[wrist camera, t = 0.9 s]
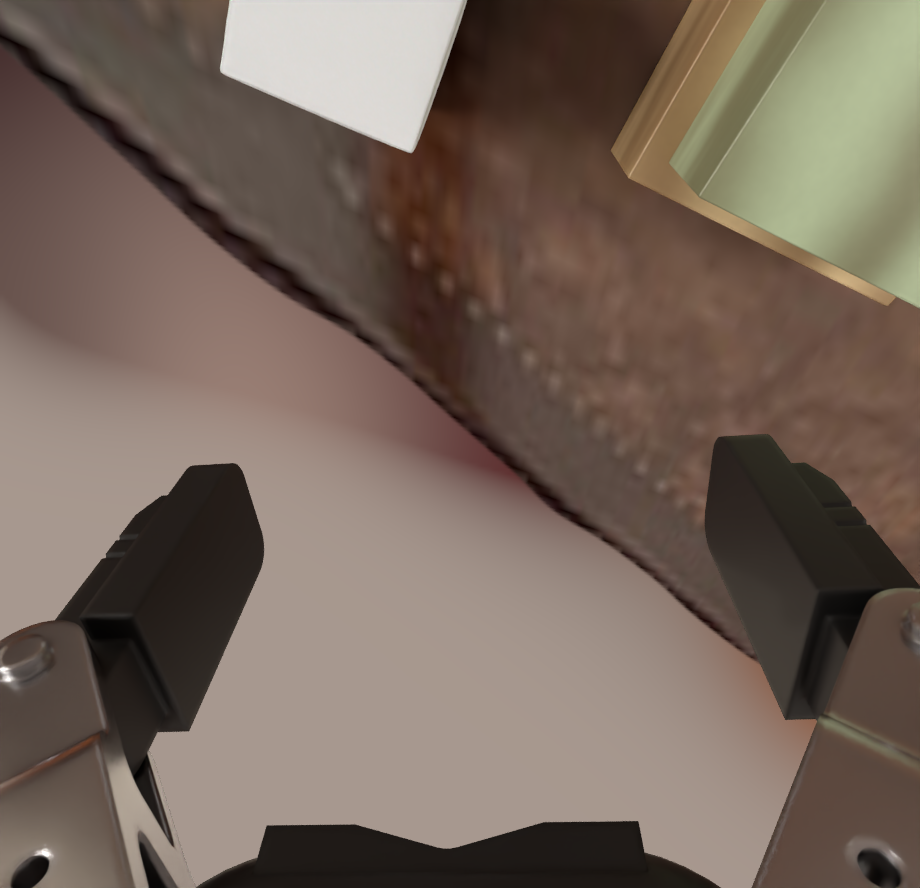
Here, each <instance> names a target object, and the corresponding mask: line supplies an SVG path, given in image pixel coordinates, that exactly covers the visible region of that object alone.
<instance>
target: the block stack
mask: <svg viewBox="0 0 920 888" xmlns="http://www.w3.org/2000/svg"><path fill="white" fill-rule="evenodd" d="M611 152H612V153H613V155H614V156H615V158H616V160H617V161H618V163H619V164H620V166H621V167H622V169H623V170H624V172H625V174H626V175H627V177H628V178H629V179H631V180H633V181H635V182H637V183H639V184H641V185H643V186H645V187H647V188H649V189H651V190H653V191H655V192H657V193H659V194H661V195H663V196H665V197H667V198H669V199H671V200H673V201H675V202H677V203H679V204H681V205H683V206H685V207H687V208H689V209H691V210H693V211H695V212H697V213H699V214H701V215H703V216H705V217H707V218H709V219H711V220H713V221H715V222H717V223H719V224H721V225H724V226H726V227H728V228H730V229H732V230H734V231H736V232H738V233H740V234H742V235H744V236H746V237H748V238H750V239H752V240H754V241H756V242H758V243H760V244H762V245H764V246H766V247H768V248H770V249H772V250H774V251H776V252H778V253H780V254H782V255H784V256H786V257H788V258H790V259H792V260H794V261H796V262H798V263H800V264H802V265H804V266H806V267H808V268H810V269H812V270H814V271H816V272H818V273H820V274H822V275H824V276H826V277H828V278H830V279H832V280H834V281H836V282H838V283H840V284H842V285H844V286H846V287H848V288H850V289H852V290H854V291H856V292H858V293H860V294H862V295H864V296H866V297H868V298H870V299H872V300H874V301H877V302H879V303H881V304H883V305H885V306H888V305H889V304H890V303H891V302H892V301H893V300H894V299H895V298H896V297H898V298H900V299H902V300H904V301H906V302H908V303H910V304H912V305H914V306H916V307H918V308H920V0H692V2H691V3H690V5H689V7H688V9H687V11H686V13H685V15H684V16H683V18H682V20H681V22H680V24H679V26H678V27H677V29H676V31H675V33H674V35H673V37H672V38H671V40H670V42H669V44H668V46H667V48H666V49H665V51H664V53H663V55H662V57H661V59H660V61H659V62H658V64H657V66H656V68H655V70H654V72H653V73H652V75H651V77H650V79H649V81H648V83H647V84H646V86H645V88H644V90H643V92H642V94H641V96H640V97H639V99H638V101H637V103H636V105H635V107H634V108H633V110H632V112H631V114H630V116H629V118H628V119H627V121H626V123H625V125H624V127H623V129H622V131H621V132H620V134H619V136H618V138H617V140H616V142H615V143H614V145H613V147H612V149H611Z"/></svg>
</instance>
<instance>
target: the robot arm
mask: <svg viewBox="0 0 920 888" xmlns="http://www.w3.org/2000/svg"><path fill="white" fill-rule="evenodd" d="M705 532H706V538H707V543H708V547H709V550H710V552H711V555H712V557H713V559H714V561H715V564H716V566H717V568H718V570H719V573H720V575H721V577H722V579H723V582H724V584H725V586H726V588H727V590H728V593H729V595H730V597H731V599H732V602H733V604H734V606H735V608H736V611H737V613H738V615H739V617H740V620H741V622H742V624H743V626H744V629H745V631H746V633H747V635H748V638H749V640H750V642H751V644H752V646H753V649H754V651H755V653H756V655H757V658H758V660H759V662H760V664H761V667H762V669H763V671H764V673H765V675H766V678H767V680H768V682H769V685H770V687H771V689H772V691H773V693H774V696H775V698H776V700H777V702H778V705H779V707H780V709H781V711H782V714H783V716H784V718H785V720H793V719H816V720H817V723H816V726H815V728H814V731H813V733H812V736H811V738H810V741H809V743H808V746H807V748H806V751H805V754H804V756H803V759H802V761H801V764H800V766H799V769H798V771H797V774H796V776H795V779H794V781H793V784H792V786H791V789H790V792H789V794H788V797H787V799H786V802H785V804H784V807H783V809H782V812H781V814H780V817H779V820H778V822H777V825H776V827H775V830H774V832H773V835H772V837H771V840H770V842H769V845H768V847H767V850H766V853H765V855H764V858H763V861H762V863H761V865H760V868H759V871H758V873H757V875H756V878H755V881H754V883H753V886H752V888H920V586H919V584H918V583H917V582H916V581H915V580H914V578H913V577H912V576H911V575H910V573H909V572H908V571H907V570H906V568H905V567H904V566H903V565H902V564H901V562H900V561H899V560H898V559H897V557H896V556H895V555H894V554H893V553H892V551H891V550H890V549H889V548H888V546H887V545H886V544H885V543H884V541H883V540H882V539H881V538H880V537H879V535H878V534H877V533H876V532H875V530H874V529H873V528H872V527H871V525H867V524H866V519H865V518H864V517H863V516H862V514H861V513H860V512H859V511H858V509H857V508H856V507H852V505H851V501H850V500H849V498H848V497H847V496H846V495H845V493H844V492H843V491H842V490H841V489H840V487H839V486H838V485H837V484H836V482H835V481H834V480H832V479H831V478H829V477H828V476H826V475H824V474H823V473H821V472H819V471H818V470H816V469H815V468H813V467H811V466H810V465H808V464H807V463H791V462H790V461H789V460H788V458H787V457H786V456H785V454H784V453H783V452H782V450H781V449H780V448H779V446H778V445H777V444H776V442H775V441H774V440H773V438H772V437H771V436H770V435H768V434H758V435H741V436H723V437H719V438H717V440H716V442H715V444H714V449H713V455H712V463H711V471H710V479H709V486H708V494H707V502H706V510H705ZM263 557H264V542H263V535H262V531H261V528H260V525H259V522H258V519H257V515H256V512H255V509H254V506H253V503H252V500H251V496H250V493H249V490H248V487H247V484H246V480H245V477H244V474H243V472H242V470H241V468H240V467H239V466H238V465H237V464H234V463H230V464H213V465H195V466H190V467H189V468H188V469H187V470H186V471H185V472H184V474H183V475H182V476H181V478H180V479H179V481H178V482H177V483H176V485H175V486H174V487H173V489H172V490H171V491H170V493H169V494H168V495H167V496H161V497H159V498H158V499H157V500H155V501H154V502H153V503H151V504H150V505H148V506H147V507H146V508H145V509H143V510H142V511H140V512H139V513H138V514H136V515H135V517H134V518H133V519H132V520H131V522H130V523H129V524H128V526H127V527H126V528H125V530H124V531H123V532H122V534H121V535H120V540H117V541H115V543H114V544H113V545H112V547H111V548H110V549H109V551H108V552H107V553H106V558H104V559H101V561H100V562H99V563H98V565H97V566H96V567H95V569H94V570H93V571H92V573H91V574H90V575H89V576H88V578H87V579H86V580H85V582H84V583H83V584H82V586H81V587H80V588H79V589H78V591H77V592H76V593H75V595H74V596H73V597H72V599H71V600H70V601H69V602H68V604H67V605H66V606H65V608H64V609H63V610H62V612H61V613H60V614H59V615H58V617H57V618H56V620H54V621H47V622H41V623H38V624H35V625H31V626H29V627H26V628H23V629H21V630H19V631H17V632H15V633H13V634H11V635H9V636H7V637H6V638H4V639H2V640H1V641H0V888H720V887H719V886H717V885H716V884H715V883H713V882H712V881H710V880H708V879H707V878H705V877H703V876H701V875H699V874H697V873H695V872H693V871H692V870H690V869H688V868H686V867H684V866H681V865H679V864H677V863H674V862H672V861H669V860H667V859H664V858H662V857H658V856H655V855H651V854H648V853H644V849H643V843H642V838H641V833H640V827H639V823H638V821H623V822H543V823H540V824H537V825H533V826H530V827H526V828H523V829H519V830H516V831H512V832H509V833H505V834H502V835H499V836H495V837H492V838H488V839H485V840H481V841H477V842H474V843H471V844H467V845H464V846H460V847H456V848H452V849H442V848H437V847H433V846H429V845H426V844H423V843H419V842H415V841H412V840H408V839H405V838H401V837H398V836H394V835H390V834H387V833H383V832H380V831H376V830H372V829H369V828H365V827H361V826H358V825H276V826H275V825H274V826H267V827H266V830H265V834H264V837H263V841H262V844H261V847H260V851H259V855H258V858H255V859H252V860H249V861H246V862H244V863H242V864H239V865H237V866H234V867H232V868H230V869H227V870H225V871H223V872H221V873H220V874H218V875H216V876H214V877H212V878H210V879H209V880H207V881H205V882H203V883H202V884H200V885H199V886H198V887H196V886H195V883H194V881H193V879H192V876H191V874H190V872H189V869H188V866H187V863H186V861H185V858H184V855H183V851H182V848H181V845H180V842H179V838H178V835H177V832H176V829H175V825H174V822H173V819H172V816H171V813H170V809H169V806H168V804H167V800H166V796H165V793H164V790H163V787H162V784H161V781H160V777H159V775H158V771H157V767H156V765H155V761H154V759H153V757H152V755H151V753H150V751H149V748H150V746H151V744H152V742H153V740H154V738H155V736H156V734H157V732H175V731H176V732H177V731H178V732H179V731H189V730H190V728H191V725H192V723H193V721H194V719H195V717H196V714H197V712H198V710H199V708H200V705H201V703H202V701H203V699H204V696H205V694H206V692H207V690H208V687H209V685H210V682H211V681H212V678H213V676H214V674H215V671H216V669H217V667H218V665H219V662H220V660H221V658H222V656H223V653H224V651H225V649H226V647H227V644H228V642H229V640H230V637H231V635H232V633H233V631H234V629H235V626H236V624H237V621H238V620H239V617H240V615H241V613H242V610H243V608H244V606H245V604H246V602H247V599H248V597H249V595H250V593H251V590H252V588H253V586H254V584H255V581H256V579H257V577H258V574H259V572H260V570H261V567H262V563H263Z"/></svg>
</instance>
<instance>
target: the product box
mask: <svg viewBox="0 0 920 888" xmlns="http://www.w3.org/2000/svg"><path fill="white" fill-rule="evenodd" d="M466 2H467V0H230V2H229V9H228V15H227V22H226V29H225V37H224V45H223V52H222V59H221V65H220V70H221V72H222V74H224V75H226V76H228V77H230V78H233V79H235V80H237V81H239V82H242V83H244V84H246V85H248V86H251V87H253V88H255V89H258V90H260V91H262V92H264V93H267V94H269V95H271V96H274V97H276V98H278V99H281V100H283V101H285V102H287V103H290V104H292V105H294V106H297V107H299V108H302V109H304V110H306V111H309V112H311V113H314V114H316V115H318V116H320V117H323V118H325V119H327V120H330V121H332V122H334V123H337V124H339V125H342V126H344V127H346V128H349V129H351V130H353V131H356V132H358V133H361V134H363V135H365V136H368V137H370V138H373V139H375V140H378V141H380V142H383V143H385V144H388V145H390V146H393V147H395V148H398V149H400V150H403V151H406V152H408V153H412V152H413V151H414V149H415V148H416V145H417V143H418V140H419V138H420V135H421V133H422V130H423V127H424V125H425V122H426V119H427V117H428V114H429V111H430V108H431V106H432V103H433V100H434V97H435V95H436V92H437V89H438V86H439V83H440V80H441V78H442V75H443V72H444V69H445V66H446V63H447V60H448V57H449V54H450V51H451V48H452V45H453V42H454V40H455V37H456V34H457V31H458V28H459V25H460V22H461V18H462V15H463V12H464V9H465V6H466Z"/></svg>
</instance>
